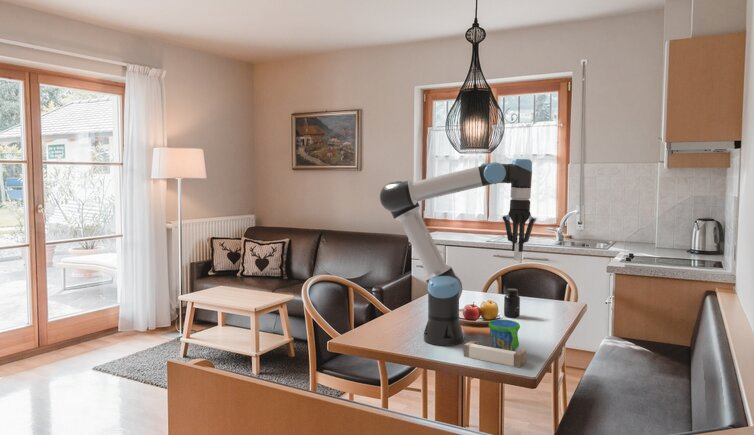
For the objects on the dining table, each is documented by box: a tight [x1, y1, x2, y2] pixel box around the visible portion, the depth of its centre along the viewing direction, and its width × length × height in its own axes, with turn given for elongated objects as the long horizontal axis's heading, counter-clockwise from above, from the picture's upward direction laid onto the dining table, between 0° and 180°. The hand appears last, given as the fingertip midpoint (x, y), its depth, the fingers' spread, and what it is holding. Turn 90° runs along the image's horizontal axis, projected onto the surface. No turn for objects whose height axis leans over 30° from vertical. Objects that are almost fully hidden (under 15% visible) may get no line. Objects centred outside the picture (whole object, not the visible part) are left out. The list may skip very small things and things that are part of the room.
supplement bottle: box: [503, 288, 521, 319], centre depth 243 cm, size 7×7×12 cm
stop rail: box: [463, 340, 527, 369], centre depth 186 cm, size 20×6×4 cm, turn 54°
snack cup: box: [488, 319, 521, 352], centre depth 194 cm, size 16×10×10 cm
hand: (517, 259), depth 214 cm, fingers closed
